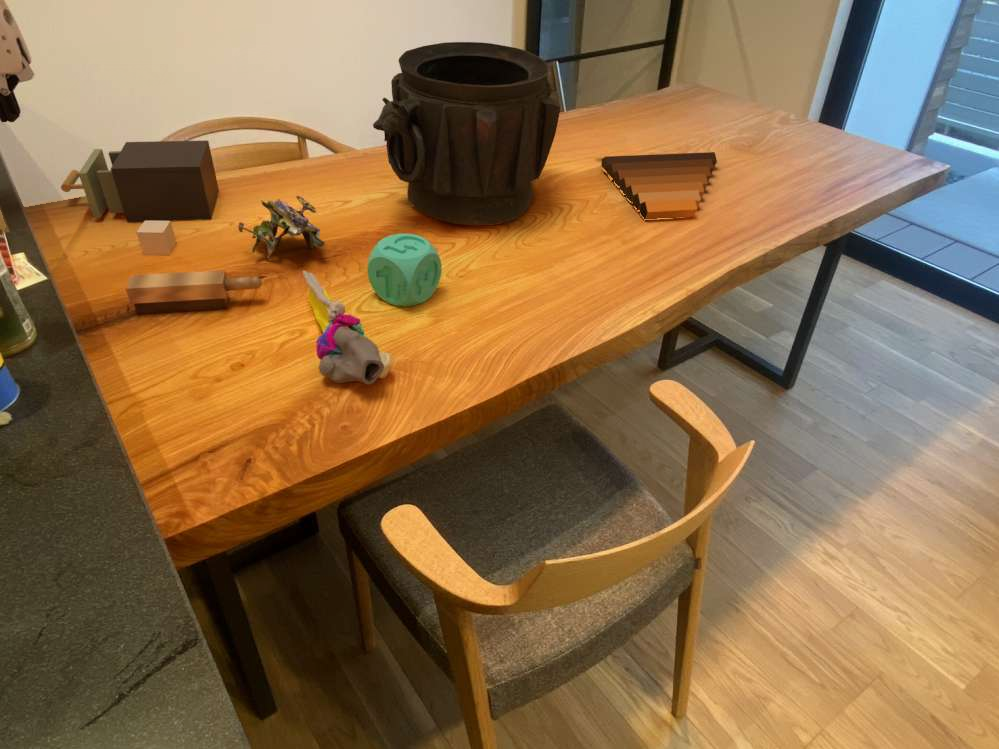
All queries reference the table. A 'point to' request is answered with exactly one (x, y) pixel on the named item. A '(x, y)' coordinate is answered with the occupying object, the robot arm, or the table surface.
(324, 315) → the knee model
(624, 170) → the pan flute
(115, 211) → the drawer
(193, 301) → the brush
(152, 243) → the felt block
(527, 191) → the vessel
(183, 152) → the dark wooden cuboid
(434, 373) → the table surface
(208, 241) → the table surface
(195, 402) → the table surface
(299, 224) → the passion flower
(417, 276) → the decorative dice
